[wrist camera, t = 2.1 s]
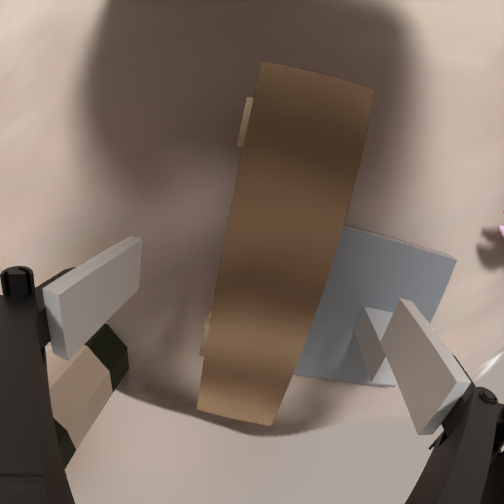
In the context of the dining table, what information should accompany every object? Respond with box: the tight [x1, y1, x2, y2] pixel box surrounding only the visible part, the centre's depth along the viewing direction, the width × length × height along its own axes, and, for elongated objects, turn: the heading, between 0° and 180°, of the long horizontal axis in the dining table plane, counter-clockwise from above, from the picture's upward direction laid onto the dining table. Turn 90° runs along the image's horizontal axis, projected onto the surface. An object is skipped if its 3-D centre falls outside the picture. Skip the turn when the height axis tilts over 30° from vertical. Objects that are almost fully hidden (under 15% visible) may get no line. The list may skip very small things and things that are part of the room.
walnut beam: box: [197, 61, 375, 426], centre depth 16 cm, size 20×5×4 cm, turn 168°
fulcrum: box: [293, 225, 457, 387], centre depth 21 cm, size 14×11×8 cm
